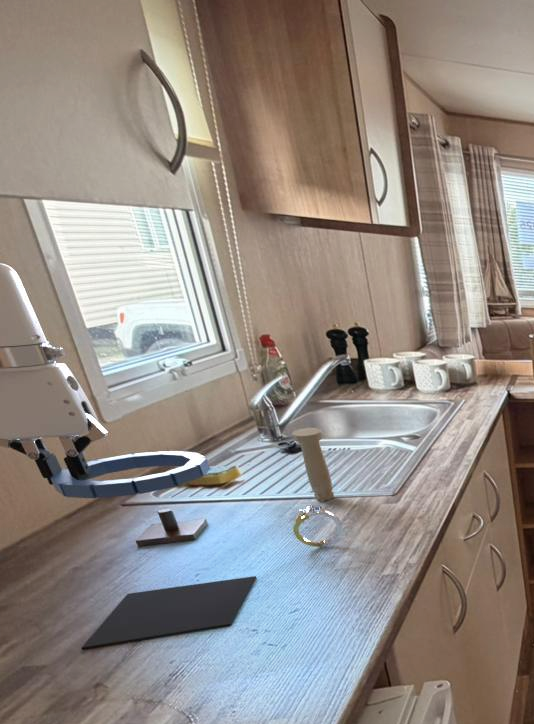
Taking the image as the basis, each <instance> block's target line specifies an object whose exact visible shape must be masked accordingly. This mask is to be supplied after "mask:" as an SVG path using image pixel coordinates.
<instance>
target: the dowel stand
mask: <svg viewBox="0 0 534 724" xmlns="http://www.w3.org/2000/svg"><path fill="white" fill-rule="evenodd" d="M157 515H158V517H159V519H160V522H158V523H151V524H150V525H149V526H148V527H147V528H146V529H145V530H144V531H143V532H142V533H141V534H140V535H139V537H137V538H136V539H135V543H136V545H137V547H145V546H153V545H154V546H155V545H163V544H171V543H181V542H189V541H196V540H197V538H198V537H199V536H200V534H201V533H202V532H203V531H204V529H205V528H206V527H207V526H208V523H209V522H208V521H207V518H198V519H187V520H177V519H176V516H175V513H174V511H173V509H172V508H170V507H169V508H168V507H167V508H162V509H159V510H158V511H157Z"/></svg>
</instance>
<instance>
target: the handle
mask: <svg viewBox="0 0 534 724" xmlns="http://www.w3.org/2000/svg"><path fill="white" fill-rule="evenodd" d="M291 436H292V439H293V441H294V442H297V443H299V445H300V448H301V453H302V457H303V458H302V459H303V462H304V466H305V471H306V476H307V479H308V482H309V485H310V488H311V490H312V492H313V494H314V498H315V500H316V501H320V502H324V501H330V500H331V499H334V497H335V493H334V491H333V490H334V489H333V483H332V478H331V473H330V470H329V467H328V464H327V462H326V459H325V456H324V453H323V450H322V446H321V443H320V441H321V440H322V439H323V432H322V429H320V428H318V427H303V428H298V429H295V430H293V431H292V433H291Z"/></svg>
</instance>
